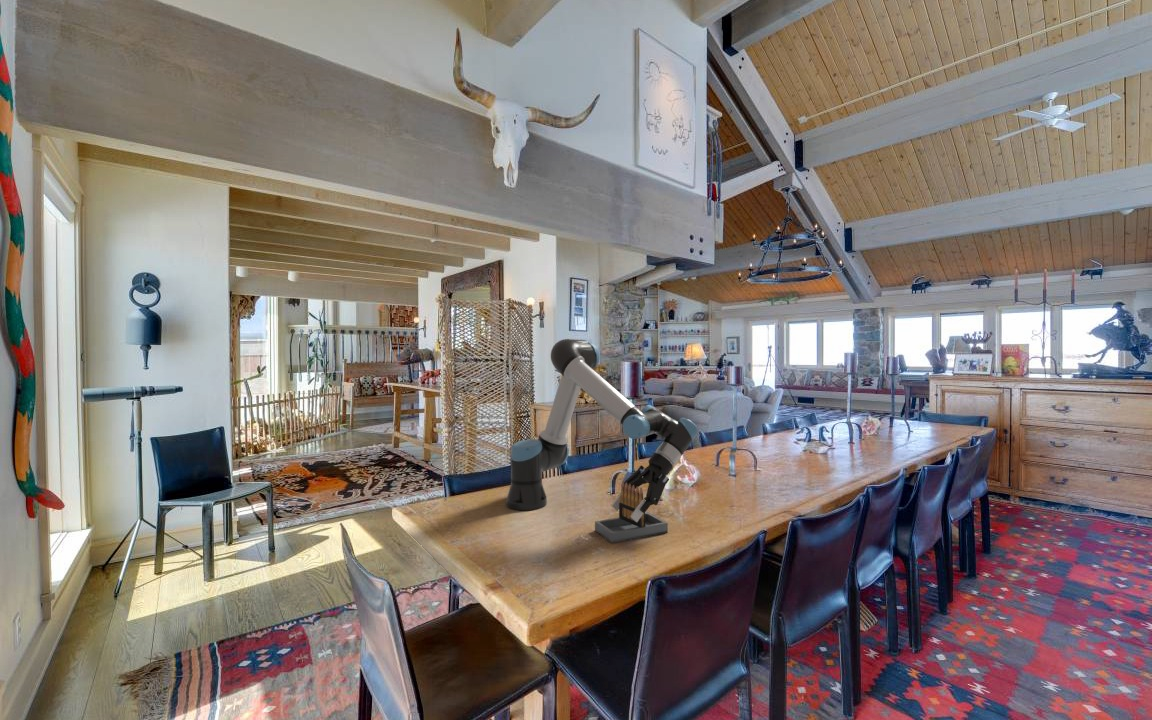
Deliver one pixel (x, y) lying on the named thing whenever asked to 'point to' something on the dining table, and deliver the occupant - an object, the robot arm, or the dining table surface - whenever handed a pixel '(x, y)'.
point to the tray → (630, 528)
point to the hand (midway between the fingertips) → (623, 513)
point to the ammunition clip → (630, 504)
